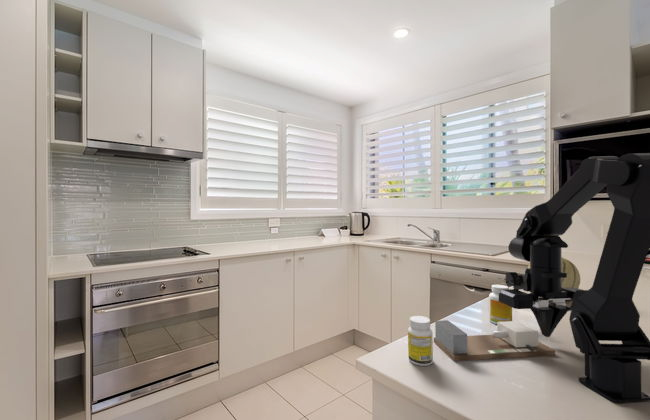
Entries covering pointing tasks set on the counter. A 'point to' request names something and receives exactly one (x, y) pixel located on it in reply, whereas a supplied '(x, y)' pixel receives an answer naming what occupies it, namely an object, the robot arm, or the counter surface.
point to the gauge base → (495, 349)
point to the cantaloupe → (569, 274)
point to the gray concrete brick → (451, 337)
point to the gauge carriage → (516, 334)
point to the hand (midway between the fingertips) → (546, 336)
